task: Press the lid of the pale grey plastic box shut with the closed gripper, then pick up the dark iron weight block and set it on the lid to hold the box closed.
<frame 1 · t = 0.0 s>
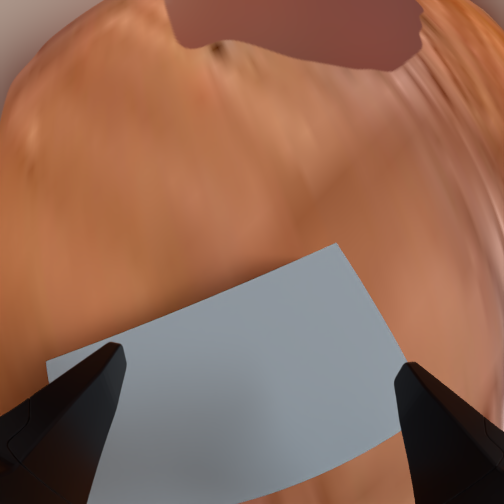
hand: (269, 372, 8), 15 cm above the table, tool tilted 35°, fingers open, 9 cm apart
box lid: (207, 406, 14), point 8 cm above the table, hinge at 25.0°
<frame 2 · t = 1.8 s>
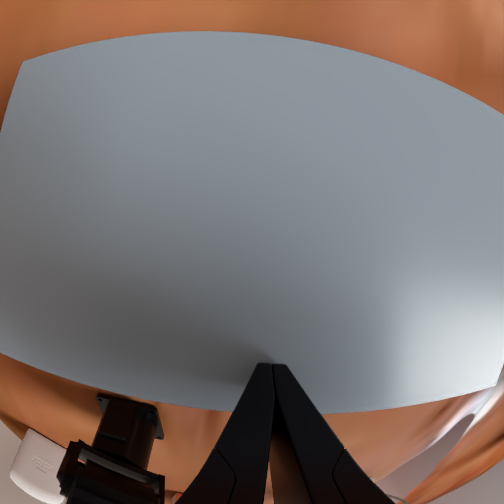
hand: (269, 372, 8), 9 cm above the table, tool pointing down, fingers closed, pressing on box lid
box lid: (286, 222, 8), point 7 cm above the table, hinge at 20.3°, touching gripper
cracker box: (210, 500, 39), on the table
photo printer: (53, 442, 33), on the table
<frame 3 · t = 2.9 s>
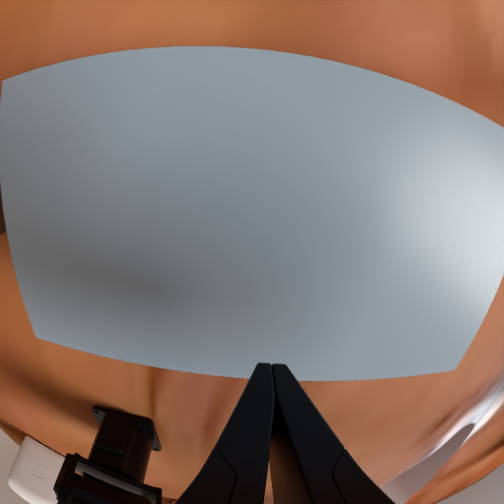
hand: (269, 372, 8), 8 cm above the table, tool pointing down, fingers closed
box lid: (274, 244, 10), point 5 cm above the table, hinge at 0.7°
photo printer: (51, 449, 32), on the table
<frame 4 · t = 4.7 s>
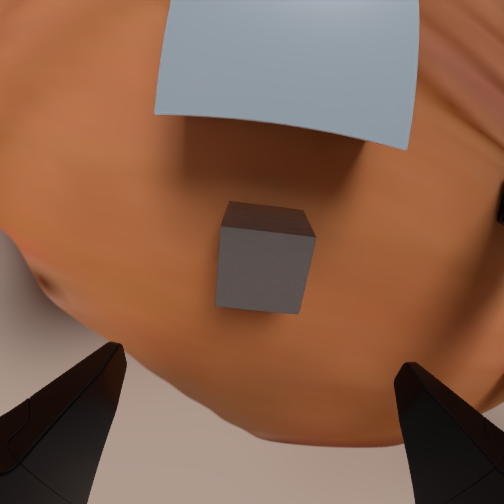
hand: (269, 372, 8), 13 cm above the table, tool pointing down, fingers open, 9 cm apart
iron weight: (261, 239, 21), on the table
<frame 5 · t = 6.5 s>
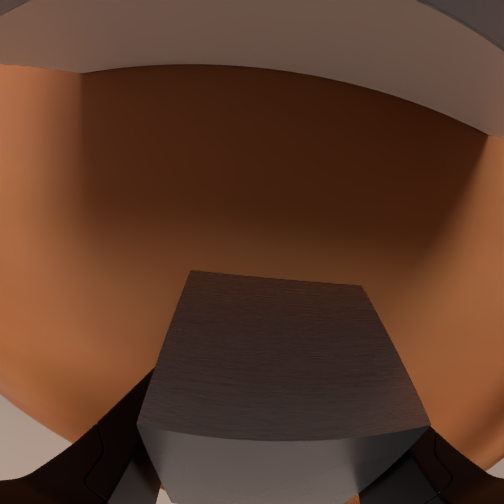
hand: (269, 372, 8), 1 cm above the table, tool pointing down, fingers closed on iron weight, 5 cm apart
iron weight: (267, 344, 9), on the table, touching gripper
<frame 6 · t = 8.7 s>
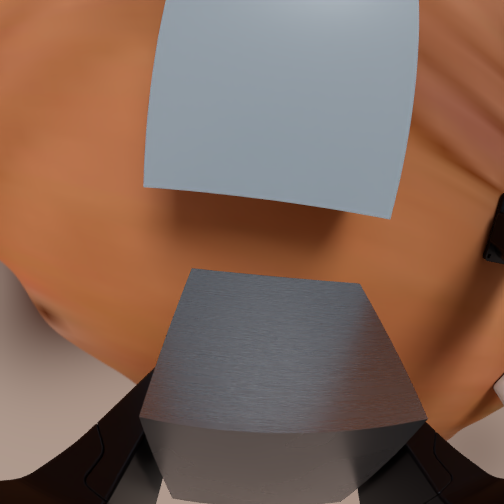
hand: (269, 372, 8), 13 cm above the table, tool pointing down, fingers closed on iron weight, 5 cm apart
iron weight: (267, 341, 9), point 11 cm above the table, touching gripper
when the fingers open (8 cm above the table, at t = 11.3 s): iron weight stays where it is, point 6 cm above the table.
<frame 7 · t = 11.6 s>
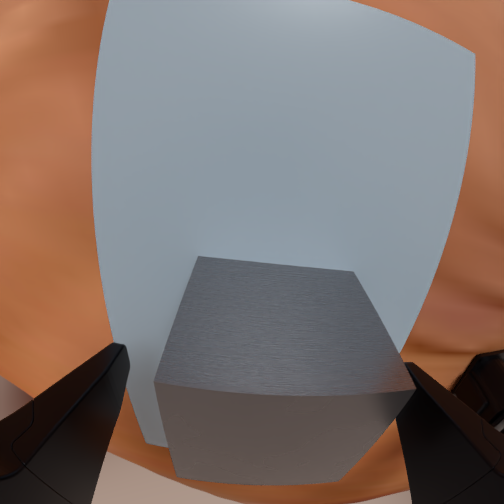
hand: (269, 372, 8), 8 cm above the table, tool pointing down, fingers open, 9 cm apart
box lid: (265, 319, 11), point 5 cm above the table, hinge at 0.0°, touching storage box
iron weight: (267, 326, 10), point 6 cm above the table
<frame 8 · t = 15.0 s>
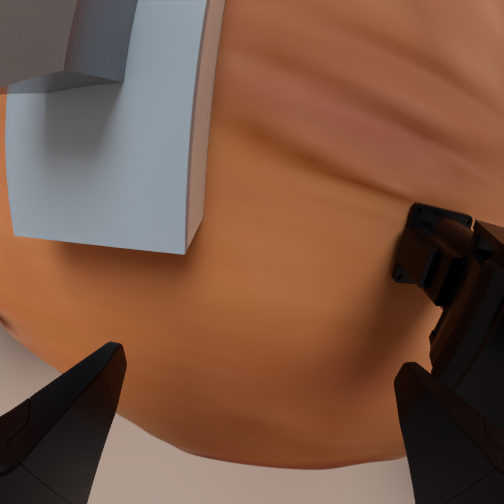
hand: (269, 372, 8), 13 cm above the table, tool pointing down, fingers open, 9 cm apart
box lid: (90, 43, 10), point 5 cm above the table, hinge at 0.0°, touching iron weight, storage box
storage box: (129, 59, 15), on the table
iron weight: (87, 42, 10), point 6 cm above the table, touching box lid
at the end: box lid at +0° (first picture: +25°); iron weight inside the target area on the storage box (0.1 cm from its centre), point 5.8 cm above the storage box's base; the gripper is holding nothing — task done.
